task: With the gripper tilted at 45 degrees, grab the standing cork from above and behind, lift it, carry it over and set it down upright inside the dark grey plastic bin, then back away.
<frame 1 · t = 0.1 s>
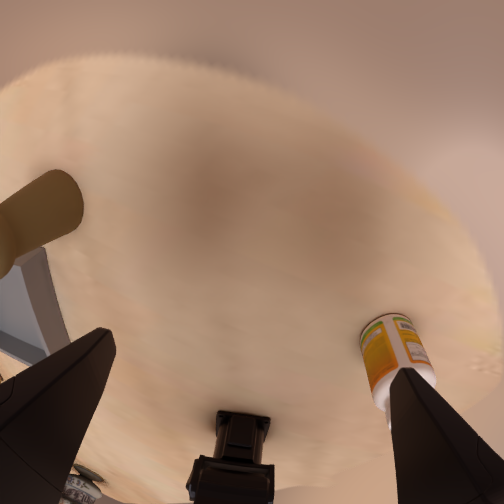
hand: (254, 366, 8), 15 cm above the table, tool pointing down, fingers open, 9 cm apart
supplement bottle: (385, 333, 26), on the table
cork: (59, 201, 23), on the table
grey bin: (16, 297, 29), on the table
apothecary jar: (88, 471, 59), on the table
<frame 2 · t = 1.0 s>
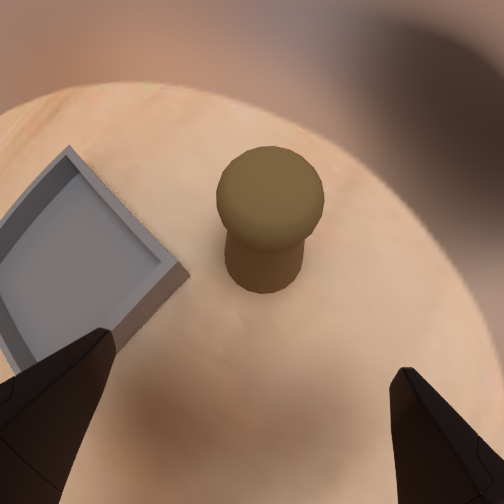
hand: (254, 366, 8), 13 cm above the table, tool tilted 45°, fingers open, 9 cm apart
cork: (263, 255, 23), on the table
grey bin: (67, 278, 23), on the table
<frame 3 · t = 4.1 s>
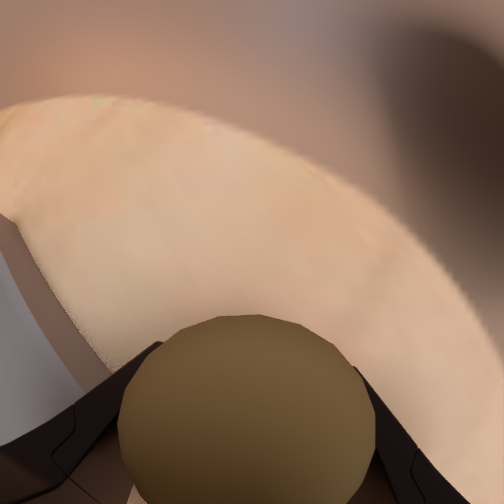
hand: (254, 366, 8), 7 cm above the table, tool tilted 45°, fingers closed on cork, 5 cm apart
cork: (249, 385, 14), on the table, touching gripper
grey bin: (1, 379, 13), on the table
when the fingers open (9 cm above the table, at t = 8.3 s): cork drops 2 cm, resting on grey bin.
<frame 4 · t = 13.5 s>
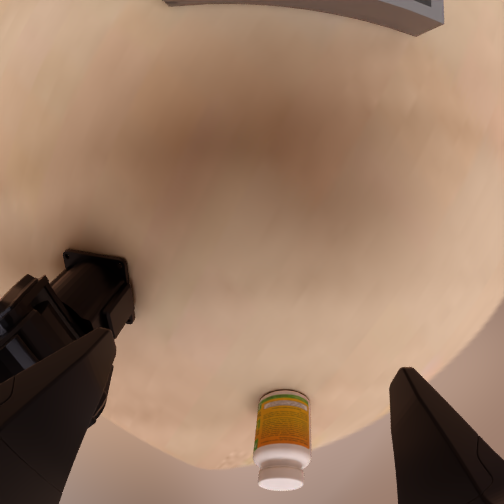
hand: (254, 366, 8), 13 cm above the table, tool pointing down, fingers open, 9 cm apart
supplement bottle: (284, 402, 29), on the table
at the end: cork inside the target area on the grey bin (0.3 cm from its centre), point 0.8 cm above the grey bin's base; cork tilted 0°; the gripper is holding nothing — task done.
